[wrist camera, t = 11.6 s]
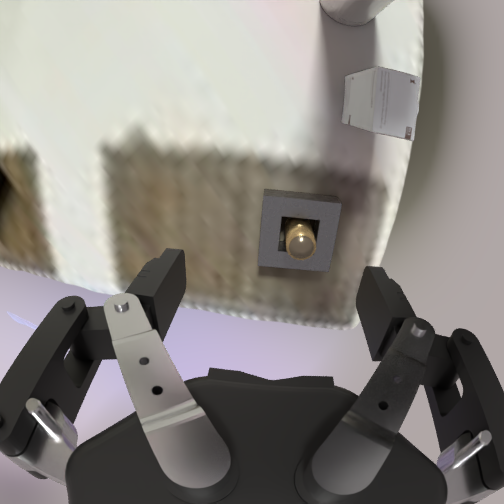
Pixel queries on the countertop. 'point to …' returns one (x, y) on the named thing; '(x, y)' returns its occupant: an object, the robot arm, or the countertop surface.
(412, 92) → the skincare box
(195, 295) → the countertop surface
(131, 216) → the countertop surface
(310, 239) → the piston
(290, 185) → the countertop surface
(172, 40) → the countertop surface
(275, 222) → the collar
